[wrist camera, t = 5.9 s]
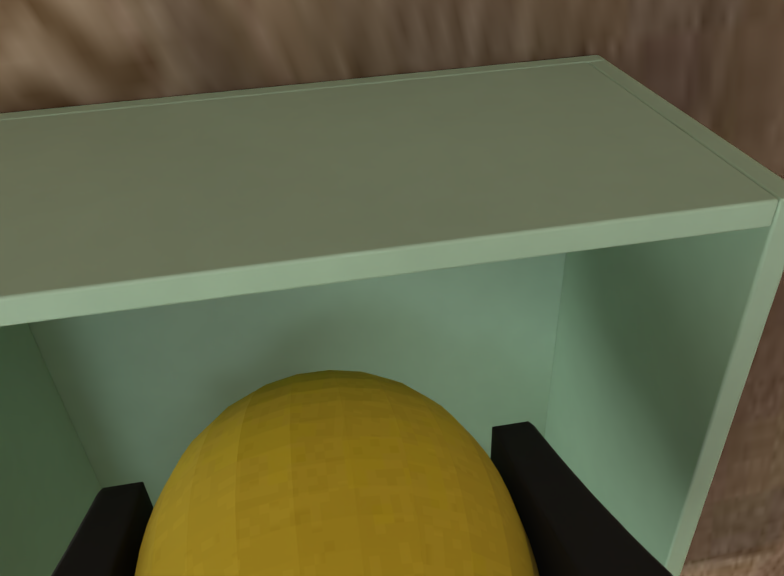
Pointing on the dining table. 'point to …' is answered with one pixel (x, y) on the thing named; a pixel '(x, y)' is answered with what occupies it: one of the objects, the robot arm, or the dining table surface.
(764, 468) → the dining table surface
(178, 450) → the light green open box
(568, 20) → the dining table surface
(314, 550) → the lemon
